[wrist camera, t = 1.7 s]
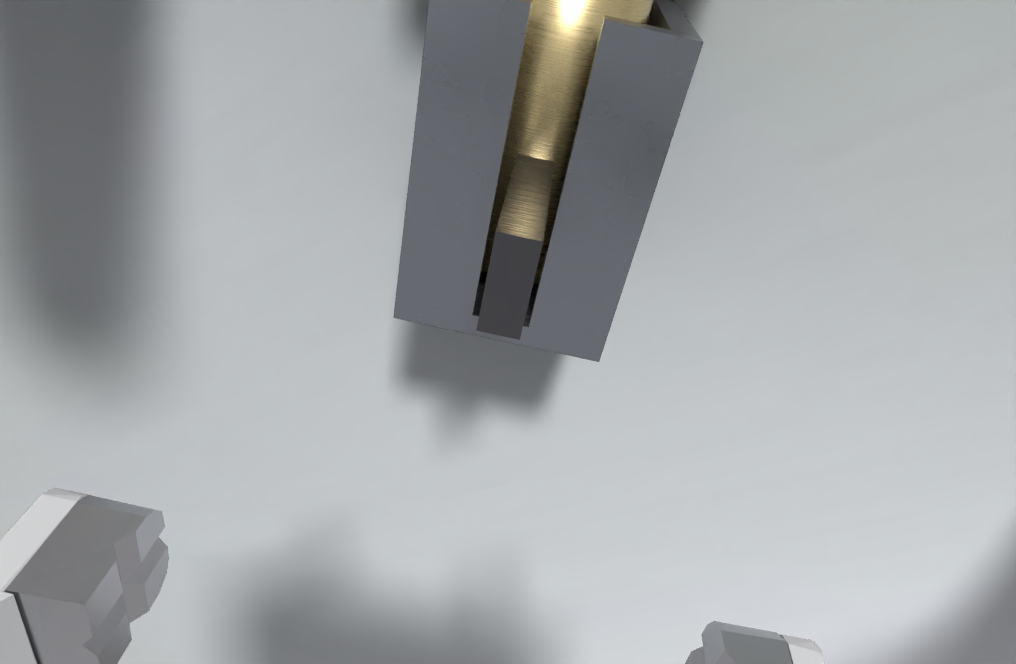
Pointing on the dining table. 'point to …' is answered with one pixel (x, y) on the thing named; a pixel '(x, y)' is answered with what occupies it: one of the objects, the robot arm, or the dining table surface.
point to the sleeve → (587, 183)
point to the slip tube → (540, 149)
